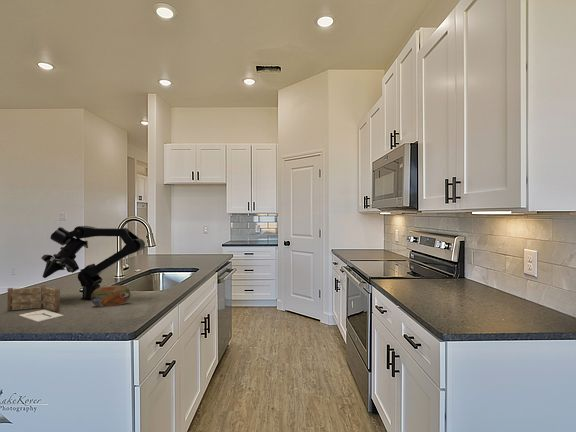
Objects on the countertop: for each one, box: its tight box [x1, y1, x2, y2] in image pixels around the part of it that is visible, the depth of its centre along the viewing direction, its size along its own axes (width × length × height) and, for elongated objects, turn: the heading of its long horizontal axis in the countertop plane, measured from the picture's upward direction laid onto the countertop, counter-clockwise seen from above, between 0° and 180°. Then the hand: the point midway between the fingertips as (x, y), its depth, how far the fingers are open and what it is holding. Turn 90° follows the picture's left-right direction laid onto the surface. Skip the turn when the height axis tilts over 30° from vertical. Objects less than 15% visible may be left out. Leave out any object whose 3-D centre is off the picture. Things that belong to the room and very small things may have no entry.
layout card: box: [18, 309, 64, 323], centre depth 133 cm, size 14×9×1 cm, turn 60°
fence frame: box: [40, 284, 61, 313], centre depth 141 cm, size 12×2×9 cm, turn 60°
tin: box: [91, 284, 131, 308], centre depth 150 cm, size 15×3×8 cm, turn 117°
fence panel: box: [6, 286, 41, 311], centre depth 141 cm, size 11×2×8 cm, turn 119°
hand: (43, 277), depth 148 cm, fingers closed
